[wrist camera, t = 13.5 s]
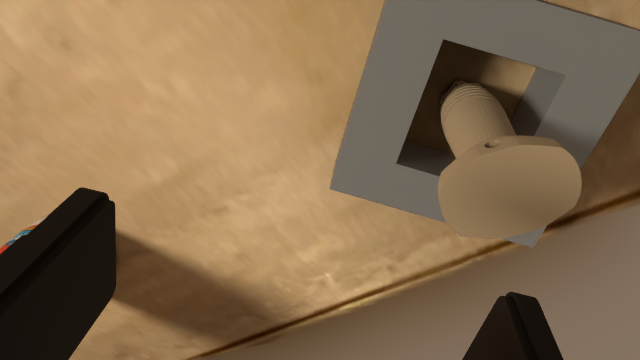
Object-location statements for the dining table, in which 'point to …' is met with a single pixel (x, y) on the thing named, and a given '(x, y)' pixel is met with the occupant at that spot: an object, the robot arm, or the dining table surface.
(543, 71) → the well block
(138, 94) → the dining table surface
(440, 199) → the handle
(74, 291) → the robot arm
